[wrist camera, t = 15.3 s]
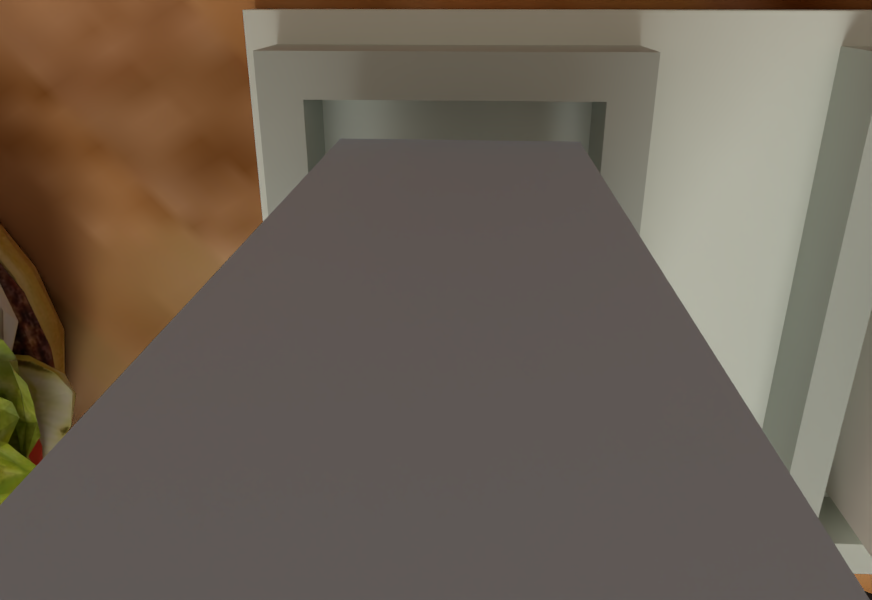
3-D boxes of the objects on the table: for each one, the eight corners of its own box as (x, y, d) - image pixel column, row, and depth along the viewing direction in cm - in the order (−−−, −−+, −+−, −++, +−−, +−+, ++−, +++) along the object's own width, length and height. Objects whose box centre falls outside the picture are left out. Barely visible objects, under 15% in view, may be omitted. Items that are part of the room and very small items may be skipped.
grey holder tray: (299, 503, 24) (276, 571, 21) (254, 9, 18) (213, 12, 15) (1032, 530, 23) (1109, 604, 20) (1241, 10, 17) (1390, 14, 14)
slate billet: (358, 518, 19) (115, 1573, 6) (340, 138, 15) (-376, 912, 3) (549, 526, 19) (688, 1640, 6) (580, 141, 15) (1134, 1020, 2)
